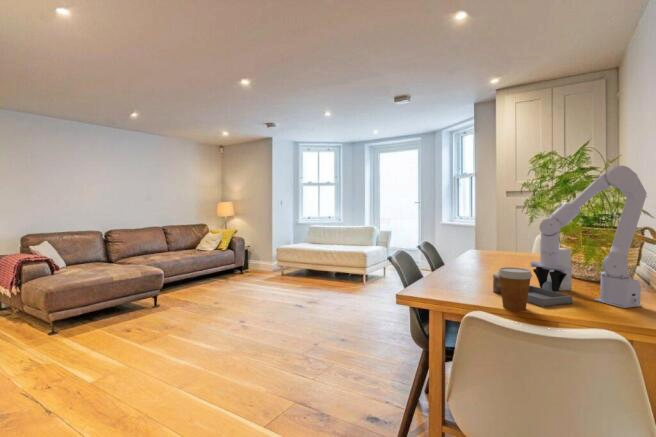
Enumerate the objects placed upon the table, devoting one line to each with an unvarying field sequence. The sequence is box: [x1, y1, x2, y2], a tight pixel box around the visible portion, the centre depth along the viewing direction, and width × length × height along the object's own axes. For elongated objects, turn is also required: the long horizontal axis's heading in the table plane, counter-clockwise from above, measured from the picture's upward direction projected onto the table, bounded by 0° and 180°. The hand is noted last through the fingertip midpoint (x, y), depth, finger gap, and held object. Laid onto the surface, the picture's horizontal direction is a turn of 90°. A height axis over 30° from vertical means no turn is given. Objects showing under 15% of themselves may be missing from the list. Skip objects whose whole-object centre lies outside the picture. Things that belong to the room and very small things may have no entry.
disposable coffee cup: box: [497, 266, 533, 312], centre depth 106 cm, size 10×10×12 cm
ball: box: [542, 282, 552, 291], centre depth 122 cm, size 4×4×4 cm
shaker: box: [492, 273, 502, 295], centre depth 125 cm, size 5×5×6 cm
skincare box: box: [547, 247, 573, 292], centre depth 131 cm, size 8×7×16 cm
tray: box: [527, 284, 573, 308], centre depth 116 cm, size 16×12×2 cm
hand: (549, 289), depth 122 cm, fingers closed on ball, 4 cm apart
